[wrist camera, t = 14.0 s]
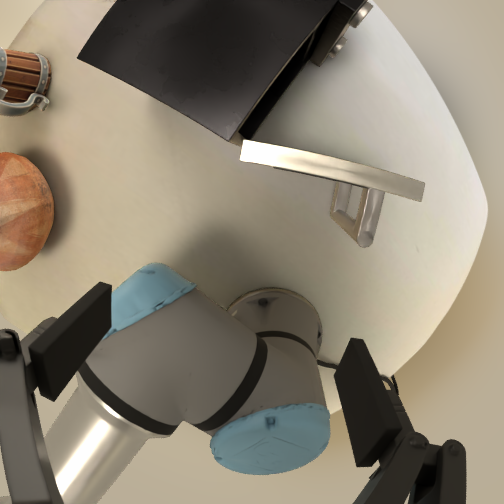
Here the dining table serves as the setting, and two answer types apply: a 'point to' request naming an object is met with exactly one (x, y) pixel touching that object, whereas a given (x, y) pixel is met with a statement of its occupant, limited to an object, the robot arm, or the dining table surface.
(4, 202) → the jug
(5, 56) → the mug
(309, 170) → the microwave door
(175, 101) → the microwave
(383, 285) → the dining table surface
